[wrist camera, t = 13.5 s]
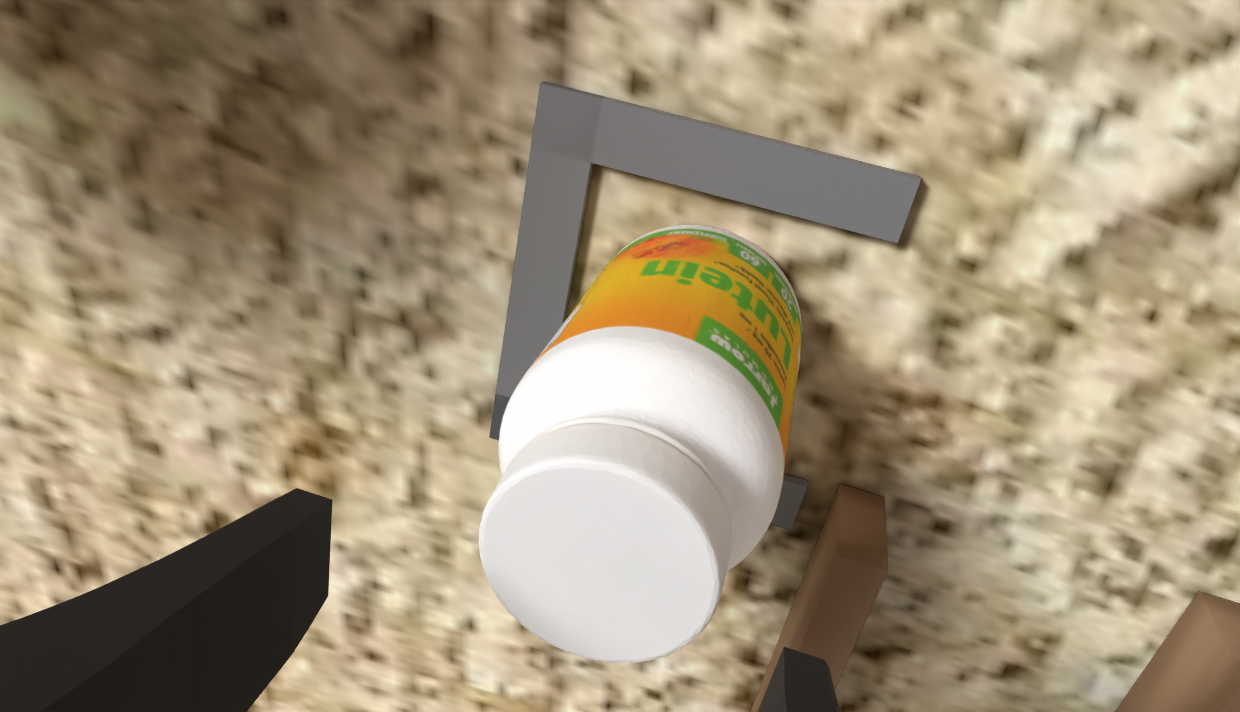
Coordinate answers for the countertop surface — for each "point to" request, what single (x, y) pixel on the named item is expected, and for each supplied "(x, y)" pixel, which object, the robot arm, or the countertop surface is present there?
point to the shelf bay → (858, 563)
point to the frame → (679, 155)
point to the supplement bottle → (646, 447)
